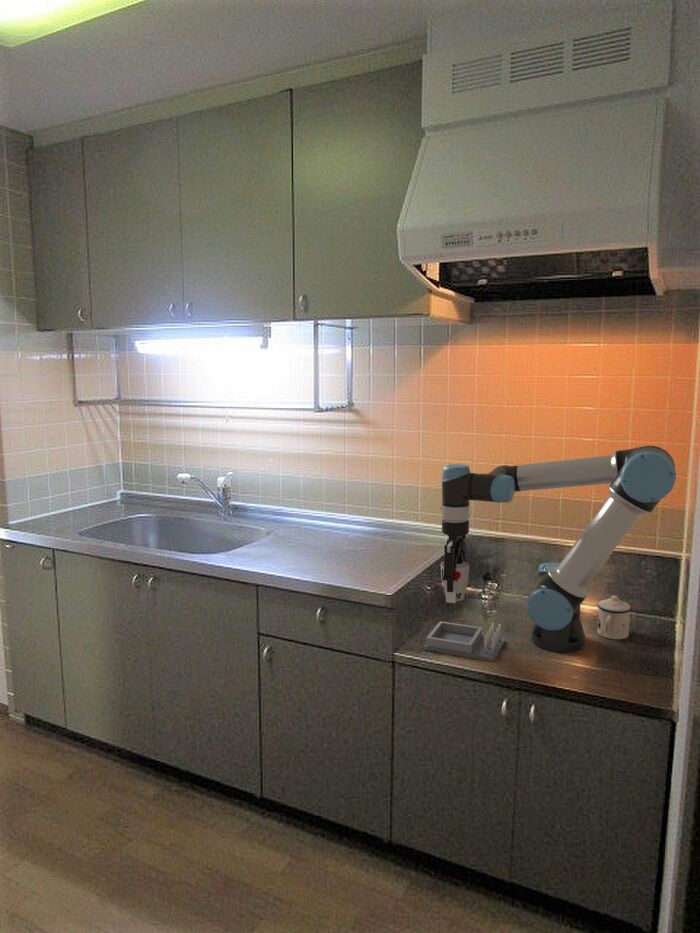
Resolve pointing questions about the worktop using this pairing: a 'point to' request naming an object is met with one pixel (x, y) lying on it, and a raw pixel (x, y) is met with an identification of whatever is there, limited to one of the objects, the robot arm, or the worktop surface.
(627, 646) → the worktop surface
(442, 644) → the dish rack
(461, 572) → the cup
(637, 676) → the worktop surface
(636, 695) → the worktop surface
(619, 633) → the teacup with lid
